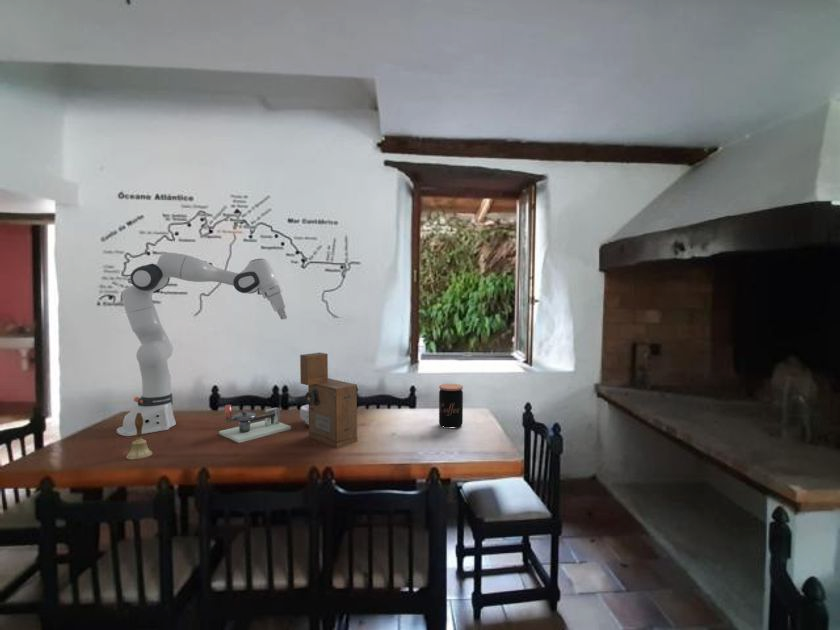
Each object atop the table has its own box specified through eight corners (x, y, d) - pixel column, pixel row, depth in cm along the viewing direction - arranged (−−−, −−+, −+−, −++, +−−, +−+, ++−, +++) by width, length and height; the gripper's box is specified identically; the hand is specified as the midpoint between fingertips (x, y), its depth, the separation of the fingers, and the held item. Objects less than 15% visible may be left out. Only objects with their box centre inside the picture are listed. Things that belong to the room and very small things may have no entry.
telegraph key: (231, 437, 183) (230, 408, 183) (220, 432, 189) (220, 404, 188) (279, 425, 200) (279, 398, 199) (269, 421, 206) (268, 394, 205)
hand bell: (149, 450, 174) (147, 408, 173) (155, 455, 168) (153, 413, 167) (123, 455, 168) (122, 413, 167) (129, 461, 162) (127, 417, 161)
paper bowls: (314, 417, 219) (314, 400, 218) (340, 421, 212) (340, 404, 212) (293, 425, 205) (293, 408, 205) (320, 430, 198) (320, 412, 198)
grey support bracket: (267, 426, 199) (267, 410, 199) (265, 425, 201) (264, 409, 200) (279, 423, 204) (279, 408, 203) (276, 422, 205) (276, 407, 205)
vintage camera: (300, 439, 186) (299, 354, 184) (328, 431, 197) (327, 351, 195) (328, 450, 174) (328, 359, 172) (357, 441, 184) (356, 355, 182)
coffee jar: (435, 427, 203) (435, 387, 202) (443, 420, 213) (443, 382, 212) (458, 430, 199) (458, 389, 198) (465, 423, 209) (465, 384, 208)
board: (238, 442, 182) (238, 419, 181) (219, 433, 193) (218, 411, 192) (291, 429, 200) (290, 407, 199) (270, 421, 211) (269, 401, 210)
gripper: (263, 295, 218) (275, 321, 220) (266, 292, 199) (279, 321, 201) (276, 290, 220) (288, 316, 222) (280, 287, 201) (293, 315, 203)
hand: (284, 318), depth 211 cm, fingers open, 8 cm apart
